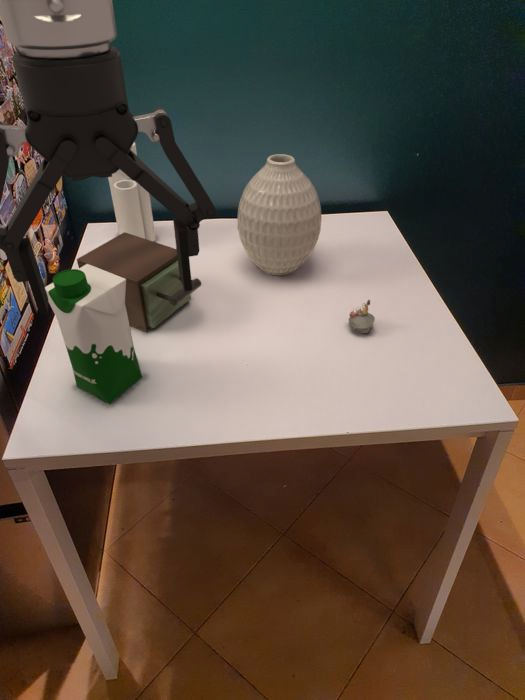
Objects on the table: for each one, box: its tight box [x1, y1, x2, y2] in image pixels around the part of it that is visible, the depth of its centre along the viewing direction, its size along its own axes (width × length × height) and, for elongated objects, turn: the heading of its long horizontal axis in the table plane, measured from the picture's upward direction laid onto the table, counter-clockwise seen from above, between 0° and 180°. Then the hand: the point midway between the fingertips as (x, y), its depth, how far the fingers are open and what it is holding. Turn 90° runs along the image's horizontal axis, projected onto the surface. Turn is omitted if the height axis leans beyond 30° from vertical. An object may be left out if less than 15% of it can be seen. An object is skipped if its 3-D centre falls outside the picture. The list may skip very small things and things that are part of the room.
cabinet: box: [76, 232, 178, 333], centre depth 93 cm, size 14×12×10 cm
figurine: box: [348, 299, 376, 334], centre depth 89 cm, size 5×4×6 cm
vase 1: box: [107, 141, 157, 242], centre depth 110 cm, size 11×7×20 cm, turn 27°
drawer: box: [141, 260, 202, 329], centre depth 91 cm, size 17×11×8 cm, turn 59°
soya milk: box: [45, 264, 143, 405], centre depth 73 cm, size 9×9×20 cm
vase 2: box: [236, 153, 323, 276], centre depth 99 cm, size 16×16×22 cm
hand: (117, 295), depth 51 cm, fingers open, 13 cm apart
